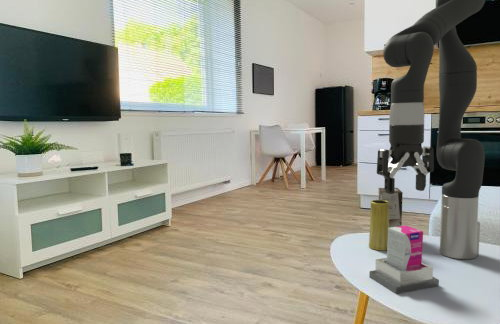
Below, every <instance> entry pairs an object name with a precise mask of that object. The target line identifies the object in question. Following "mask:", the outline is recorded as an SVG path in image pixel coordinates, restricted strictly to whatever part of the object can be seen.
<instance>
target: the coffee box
mask: <svg viewBox="0 0 500 324" xmlns="http://www.w3.org/2000/svg"><path fill="white" fill-rule="evenodd" d="M377 189H378V191H377V193H378V195H377V198H378V199H377V200H385V201H388V202H389V228H391V227H398V226H403V224H402V223H403V222H402V221H403V217H402V216H403V193H404V192H403V191H401V189H399V188H398V187H395V188H394V194H389V193H386V191H385V189H384V187H378V188H377Z"/></svg>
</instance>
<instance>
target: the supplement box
mask: <svg viewBox="0 0 500 324" xmlns="http://www.w3.org/2000/svg"><path fill="white" fill-rule="evenodd" d="M423 241H424V231H422V230H420V229H418V228H417V229H416V228H414V227H411V226H409V225H402V226H398V227H391V228H388V247H387V250H386V258H387V264H389V265H390V266H392V267H394V268H396V269H398V270H400V271H405V270H411V269H417V268H421V265H422V263H423V262H422V261H423V260H422V259H423V245H424V244H423Z"/></svg>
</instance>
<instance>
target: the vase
mask: <svg viewBox="0 0 500 324" xmlns="http://www.w3.org/2000/svg"><path fill="white" fill-rule="evenodd" d="M369 219H370V220H369V222H370V223H369V234H368V235H369V236H368V237H369V239H368V241H369V242H368V247H369V248H370V249H372V250H374V249H375V250H376V251H387V247H388V228H389V202H388V201H385V200H378V199H374V200H370V218H369ZM375 250H374V251H375Z"/></svg>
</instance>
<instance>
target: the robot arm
mask: <svg viewBox="0 0 500 324" xmlns="http://www.w3.org/2000/svg"><path fill="white" fill-rule="evenodd" d="M485 3H486V0H435V7H434V8H433V9H431V10H430V11H428V12H426V13H425V14H423V15H422V16H421V17H420V18H419V19H417V21H416V22H415V23H414V24H413V25H411V26H408V27H407V28H405V29H403V30H401V31H399V32H398V33H395V34H394V35H392V36H391V37H390V38H388V40H387V42H386V43H385V45H384V46H383V47H384V48H383V59H384V62H385V64H387V65H388V66H390V67H392V68H404V67H409V68H408V70H407V72H406V74H404V75H402V76H400V77H396V78H394V79H393V80H392V82H391V84H390V85H391V86H390V108H389V119H388V121H389V122H388V123H389V127H388V128H389V129H388V131H389V132H388V142H389V144H390V147H389V149H385V148H379V149H377V150H378V151H377V157H376V158H377V159H376V160H377V161H376V174H377V175H379V176H383V178H384V187H383V188H384V189H385V191H386V193H389V194H394V188H396V187H395V185H396V184H395V183H396V182H395V181H396V178H394V177H395V176H396V174H397V173H398V171H400V170H401V169H402V168H407V167H411V168H413V170H414V171H415V172H416V174H415V190H417V191H419V192H423V191H425V189H426V187H427V186H426V185H427V184H426V183H427V175H428V174H429V173H433V172H434V171H435V162H434V159H435V158H434V152H435V151H434V147H432V146H422V144H423V143H424V142H425V106H424V105H425V104H424V102H425V101H424V99H425V97H424V95H425V94H424V93H425V92H424V91H425V82H426V78H427V75H428V72H429V68H430V65H431V62H432V59H433V56H434V49H435V48H434V46H436V45H437V43H438V51H439V52H438V57H439V58H438V59H439V61H438V67H439V68H438V91H439V113H438V114H439V119H438V130H437V141H436V159H437V162H438V164H439V166H440V167H441V168H442V169H444V170H448V171H455V178H454V179H453V180H452V181H450V182H445V183H443V185H442V186H441V202H440V203H441V206H440V208H441V209H440V211H441V212H440V231H439V232H440V233H439V234H440V236H439V253H440V254H441V255H443V256H446V257H448V258H452V259H458V260H473V259H475V258H476V257H477V256H479V254H480V235H481V234H480V233H481V223H480V222H479V220H478V219H479V217H478V216H479V195H480V190H481V188H482V184H483V180H484V179H483V178H484V169H485V159H486V155H485V154H486V153H485V149H484V145H483V144H482V142H481V141H479V140H478V139H474V138H462V136H461V135H462V133H461V131H462V122H463V118H464V116H465V113H466V111H467V109H468V108H469V106H470V105H471V103H472V101H473V99H474V97H475V95H476V92H477V86H478V83H477V82H478V68H477V67H478V66H477V63H476V61H475V59H474V57H473V55H472V54H471V52H469V50H468V49H467V47H466V46H465V45H464V43H462V41H461V39H460V38H459V35H458V32H457V28H456V26H457V25H459V24H460V23H462V22H463V21H464V20H467V18H469V17H471V16H472V15H474V14H476V13H478V12H479V11H481V10H482V8H483V7H484V5H485ZM389 158H390V160H389Z"/></svg>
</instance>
